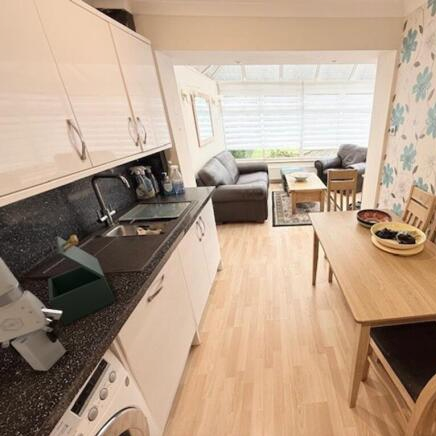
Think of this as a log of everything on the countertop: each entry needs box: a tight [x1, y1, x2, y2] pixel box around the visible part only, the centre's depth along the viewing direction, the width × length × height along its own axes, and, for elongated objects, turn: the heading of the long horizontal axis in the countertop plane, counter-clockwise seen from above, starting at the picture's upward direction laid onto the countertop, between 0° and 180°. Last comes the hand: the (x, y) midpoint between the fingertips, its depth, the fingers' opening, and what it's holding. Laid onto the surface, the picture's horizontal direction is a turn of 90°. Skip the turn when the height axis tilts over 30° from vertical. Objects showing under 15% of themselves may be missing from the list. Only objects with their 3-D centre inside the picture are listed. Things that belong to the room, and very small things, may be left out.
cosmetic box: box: [11, 329, 67, 372], centre depth 67 cm, size 6×4×12 cm
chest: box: [47, 266, 116, 326], centre depth 89 cm, size 15×17×11 cm
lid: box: [54, 234, 105, 278], centre depth 86 cm, size 16×17×5 cm
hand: (38, 344), depth 66 cm, fingers closed on cosmetic box, 6 cm apart
